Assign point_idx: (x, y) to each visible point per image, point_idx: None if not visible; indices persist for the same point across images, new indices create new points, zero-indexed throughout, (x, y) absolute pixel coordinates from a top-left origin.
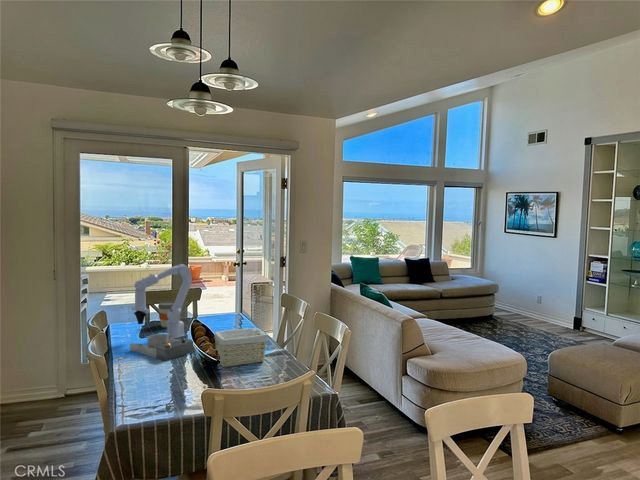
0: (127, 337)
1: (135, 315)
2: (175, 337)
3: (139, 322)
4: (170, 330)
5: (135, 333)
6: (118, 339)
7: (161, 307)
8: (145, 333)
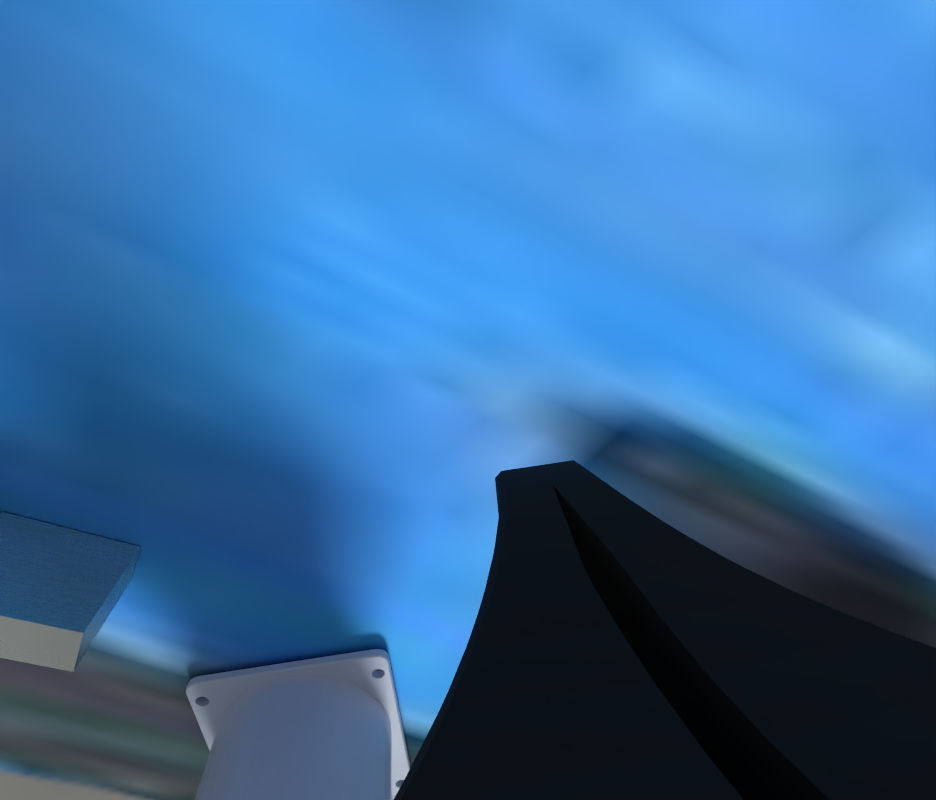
0: (804, 266)
1: (914, 645)
2: (201, 727)
3: (500, 501)
4: (222, 797)
5: (870, 454)
6: (843, 79)
7: None
8: (745, 547)
